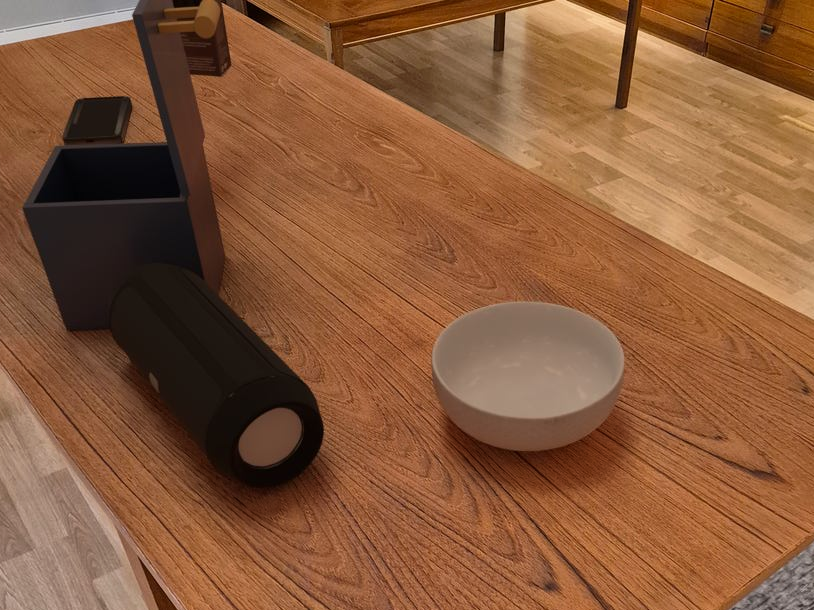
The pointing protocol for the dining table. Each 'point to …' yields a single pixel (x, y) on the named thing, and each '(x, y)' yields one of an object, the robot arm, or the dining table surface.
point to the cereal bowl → (527, 374)
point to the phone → (98, 121)
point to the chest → (118, 223)
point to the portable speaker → (216, 376)
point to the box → (207, 50)
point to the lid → (175, 77)
